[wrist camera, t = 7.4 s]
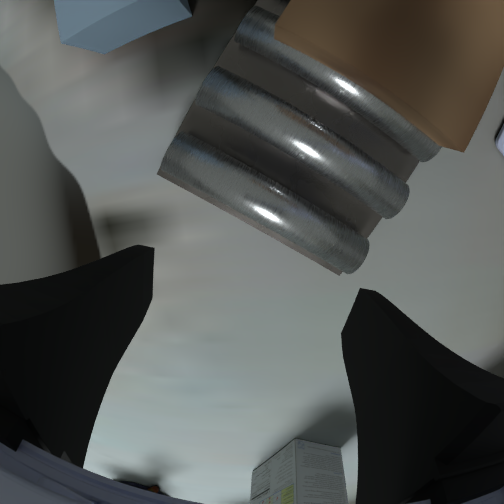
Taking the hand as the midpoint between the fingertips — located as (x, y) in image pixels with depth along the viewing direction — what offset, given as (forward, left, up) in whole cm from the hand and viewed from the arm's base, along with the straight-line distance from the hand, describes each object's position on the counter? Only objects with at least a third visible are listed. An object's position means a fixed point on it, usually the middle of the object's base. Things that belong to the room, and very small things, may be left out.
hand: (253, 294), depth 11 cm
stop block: (+11, -10, -7) cm, 17 cm away
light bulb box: (-19, +24, -10) cm, 32 cm away
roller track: (0, -11, -9) cm, 15 cm away
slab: (0, -15, -6) cm, 16 cm away
